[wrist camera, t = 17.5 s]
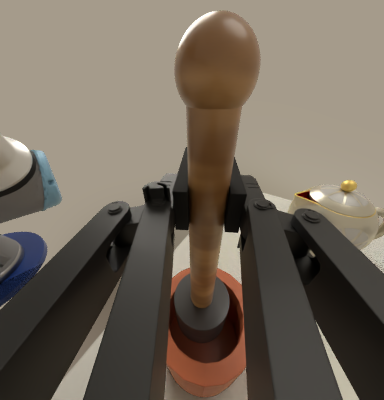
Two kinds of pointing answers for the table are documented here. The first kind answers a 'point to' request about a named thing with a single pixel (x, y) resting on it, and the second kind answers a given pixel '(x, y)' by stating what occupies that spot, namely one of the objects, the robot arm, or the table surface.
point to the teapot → (343, 211)
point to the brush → (211, 155)
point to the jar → (208, 346)
